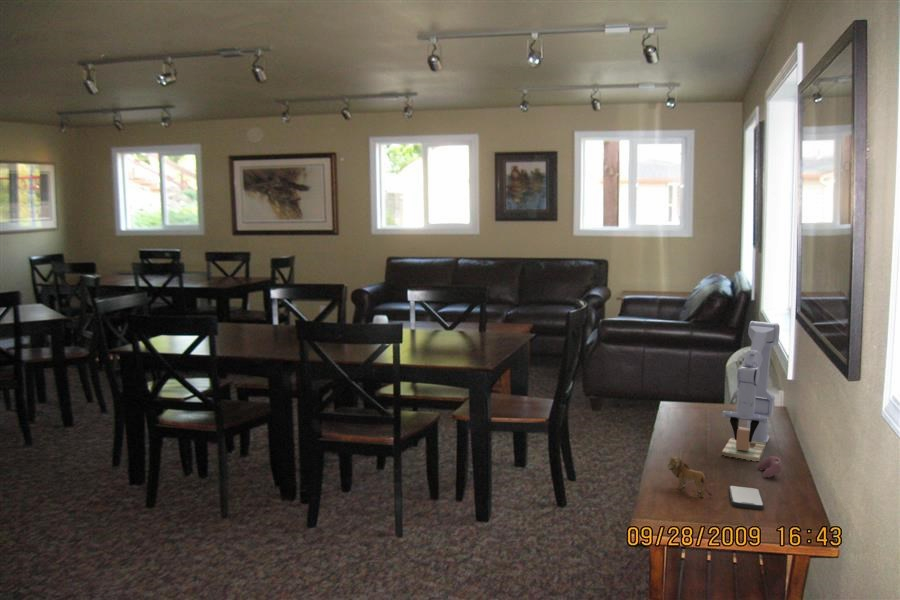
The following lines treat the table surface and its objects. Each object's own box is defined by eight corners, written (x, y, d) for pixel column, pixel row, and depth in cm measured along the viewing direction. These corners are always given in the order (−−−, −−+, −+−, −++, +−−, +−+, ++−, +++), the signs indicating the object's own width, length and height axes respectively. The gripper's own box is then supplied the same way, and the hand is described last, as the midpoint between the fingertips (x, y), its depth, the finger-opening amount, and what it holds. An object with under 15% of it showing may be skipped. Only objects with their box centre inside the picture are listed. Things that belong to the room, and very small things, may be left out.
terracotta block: (737, 446, 284) (738, 426, 283) (749, 448, 282) (751, 428, 282) (735, 449, 281) (737, 429, 280) (747, 451, 279) (749, 431, 278)
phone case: (728, 490, 248) (731, 507, 232) (728, 485, 248) (731, 502, 232) (759, 493, 245) (764, 511, 230) (759, 488, 245) (765, 506, 230)
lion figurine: (663, 486, 247) (665, 457, 246) (672, 482, 251) (674, 453, 250) (708, 499, 237) (710, 469, 236) (716, 495, 241) (719, 465, 240)
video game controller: (774, 484, 257) (786, 465, 256) (761, 476, 258) (773, 458, 257) (768, 474, 267) (780, 456, 266) (756, 467, 268) (767, 449, 266)
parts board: (730, 441, 298) (730, 437, 297) (765, 447, 292) (765, 442, 292) (721, 455, 280) (721, 451, 280) (758, 461, 274) (759, 457, 274)
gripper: (722, 401, 279) (719, 439, 281) (767, 407, 273) (764, 446, 274) (725, 397, 285) (722, 434, 287) (769, 402, 279) (766, 441, 280)
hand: (743, 440), depth 281 cm, fingers closed on terracotta block, 4 cm apart
